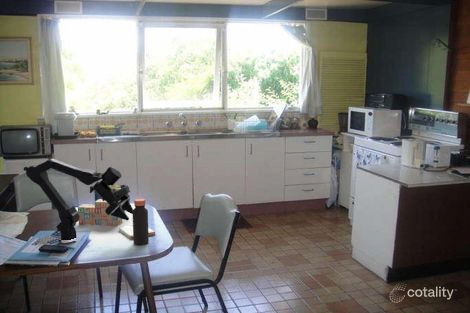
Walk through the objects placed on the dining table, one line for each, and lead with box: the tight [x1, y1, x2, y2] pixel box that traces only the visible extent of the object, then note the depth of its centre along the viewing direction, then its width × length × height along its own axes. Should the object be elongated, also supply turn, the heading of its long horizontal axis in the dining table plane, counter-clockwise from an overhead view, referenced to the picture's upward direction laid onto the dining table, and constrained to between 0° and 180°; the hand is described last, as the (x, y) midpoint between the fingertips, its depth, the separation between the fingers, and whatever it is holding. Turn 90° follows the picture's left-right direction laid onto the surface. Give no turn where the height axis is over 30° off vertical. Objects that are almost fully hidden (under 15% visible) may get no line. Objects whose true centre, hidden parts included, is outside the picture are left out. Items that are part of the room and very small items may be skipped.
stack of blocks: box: [77, 199, 123, 227], centre depth 237 cm, size 21×6×12 cm, turn 84°
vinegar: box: [131, 198, 150, 246], centre depth 207 cm, size 7×7×20 cm
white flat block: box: [118, 224, 156, 240], centre depth 222 cm, size 12×16×2 cm
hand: (131, 216), depth 206 cm, fingers open, 9 cm apart
